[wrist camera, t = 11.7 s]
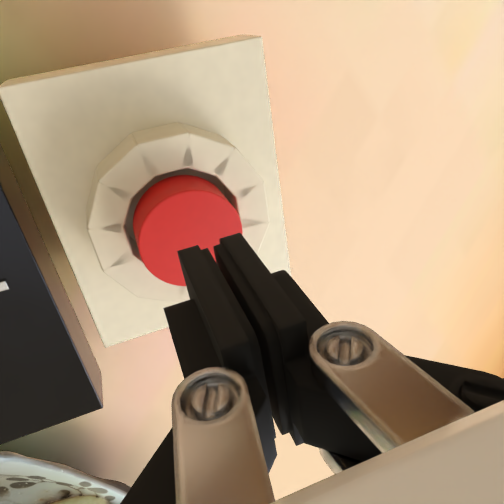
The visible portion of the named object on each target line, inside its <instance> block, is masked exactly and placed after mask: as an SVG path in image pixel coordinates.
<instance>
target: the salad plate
mask: <svg viewBox="0 0 504 504" xmlns="http://www.w3.org/2000/svg"><path fill="white" fill-rule="evenodd" d="M130 489H131V488H130V487H129V486H127V485H126V484H124V483H121V482H118V481H114V480H106V479H101V478H97V477H94V476H91V475H89V474H86V473H84V472H82V471H80V470H77V469H74V468H72V467H70V466H68V465H64V464H60V463H56V462H51V461H47V460H42V459H36V458H30V457H26V456H23V455H21V454H18V453H15V452H10V451H0V504H120V503H121V502H122V500H123V499H124V497H125V496H126V494H127V493H128V492H129V490H130Z"/></svg>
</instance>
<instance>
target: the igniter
mask: <svg viewBox="0 0 504 504" xmlns="http://www.w3.org/2000/svg"><path fill="white" fill-rule="evenodd" d="M0 98H1V100H2V103H3V105H4V108H5V110H6V112H7V115H8V117H9V120H10V122H11V124H12V127H13V129H14V132H15V134H16V136H17V139H18V141H19V144H20V146H21V148H22V151H23V153H24V155H25V158H26V160H27V163H28V165H29V167H30V170H31V172H32V175H33V177H34V179H35V182H36V184H37V187H38V189H39V191H40V194H41V196H42V199H43V201H44V203H45V206H46V208H47V211H48V213H49V215H50V218H51V220H52V222H53V225H54V227H55V230H56V232H57V234H58V237H59V239H60V242H61V244H62V246H63V249H64V251H65V254H66V256H67V258H68V261H69V263H70V266H71V268H72V270H73V273H74V275H75V277H76V280H77V282H78V285H79V287H80V289H81V292H82V294H83V297H84V299H85V301H86V304H87V306H88V309H89V311H90V313H91V316H92V318H93V321H94V323H95V325H96V328H97V330H98V332H99V335H100V337H101V340H102V342H103V344H104V347H105V348H106V347H109V346H112V345H115V344H118V343H121V342H124V341H128V340H131V339H134V338H137V337H140V336H143V335H146V334H149V333H152V332H155V331H158V330H161V329H164V328H167V327H169V325H168V322H167V319H166V315H165V312H164V309H163V308H165V307H168V306H171V305H175V304H178V303H181V302H184V301H187V300H190V298H189V294H188V291H187V287H186V286H177V285H172V284H169V283H166V282H164V281H162V280H160V279H158V278H157V277H155V276H154V275H153V274H152V273H151V272H149V270H148V269H147V268H146V267H145V265H144V263H143V262H142V259H141V257H140V254H139V250H138V246H137V242H136V239H135V235H134V231H133V216H134V211H135V208H136V205H137V204H138V202H139V200H140V198H141V197H142V195H143V194H144V193H145V192H146V191H147V190H148V189H149V188H150V187H151V186H153V185H154V184H155V183H157V182H159V181H161V180H163V179H165V178H168V177H171V176H176V175H193V176H198V177H201V178H203V179H205V180H207V181H209V182H211V183H212V184H214V185H215V186H216V187H217V188H218V189H219V190H220V191H221V192H222V194H223V195H224V196H225V197H226V199H227V200H228V201H229V202H230V203H231V205H232V206H233V207H234V208H235V210H236V211H237V213H238V215H239V217H240V220H241V224H242V231H243V234H242V235H243V237H244V238H245V239H246V241H247V242H248V243H249V245H250V246H251V247H252V249H253V250H254V251H255V253H256V254H257V255H258V257H259V258H260V259H261V261H262V262H263V263H264V265H265V266H266V267H267V269H268V270H269V271H270V273H274V272H277V271H280V270H285V271H286V272H287V273H288V274H289V275H290V276H291V272H290V263H289V255H288V247H287V239H286V230H285V222H284V214H283V206H282V198H281V189H280V181H279V173H278V165H277V157H276V148H275V140H274V132H273V124H272V116H271V107H270V99H269V91H268V83H267V75H266V66H265V58H264V50H263V42H262V37H261V36H253V35H237V36H232V37H227V38H222V39H217V40H211V41H206V42H201V43H196V44H190V45H185V46H180V47H175V48H170V49H164V50H159V51H154V52H149V53H143V54H138V55H133V56H128V57H123V58H117V59H112V60H107V61H102V62H96V63H91V64H86V65H81V66H76V67H70V68H65V69H60V70H55V71H49V72H44V73H39V74H34V75H29V76H23V77H18V78H13V79H8V80H6V81H5V82H3V83H2V84H1V85H0Z"/></svg>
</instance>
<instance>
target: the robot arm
mask: <svg viewBox="0 0 504 504" xmlns="http://www.w3.org/2000/svg"><path fill="white" fill-rule="evenodd" d="M219 242H220V244H218V245H215V246H213V248H214V254H215V259H216V262H215V260H214V258H213V256H212V254H211V253H210V251H209V249H208V248H205V249H202V250H201V249H200V247H199V246H198V245H196V246H192V247H189V248H186V249H182V250H179V251H177V252H178V257H179V261H180V264H181V268H182V272H183V276H184V279H185V283H186V287H187V291H188V294H189V298H190V300H187V301H184V302H181V303H178V304H175V305H171V306H168V307H165V308H163V309H164V312H165V315H166V319H167V322H168V325H169V329H170V332H171V335H172V339H173V342H174V345H175V349H176V352H177V356H178V359H179V362H180V366H181V369H182V372H183V376H184V380H183V381H182V382H181V383H180V384H179V385H178V387H177V389H176V391H175V393H174V394H173V399H172V426H173V427H172V429H171V430H170V432H169V433H168V435H167V436H166V438H165V439H164V440H163V442H162V443H161V445H160V446H159V448H158V449H157V451H156V452H155V454H154V455H153V457H152V458H151V459H150V461H149V462H148V464H147V465H146V467H145V468H144V470H143V471H142V473H141V474H140V475H139V477H138V478H137V480H136V481H135V483H134V484H133V486H132V487H131V489H130V490H129V492H128V493H127V494H126V496H125V497H124V499H123V500H122V502H121V503H120V504H504V378H500V377H498V376H496V375H493V374H489V373H486V372H483V371H478V370H473V369H468V368H463V367H458V366H454V365H449V364H444V363H439V362H434V361H429V360H425V359H420V358H415V357H410V356H405V355H403V354H402V353H401V352H399V351H398V350H397V349H396V348H394V347H393V346H392V345H391V344H389V343H388V342H387V341H386V340H384V339H383V338H382V337H381V336H379V335H378V334H377V333H376V332H374V331H373V330H371V329H370V328H368V327H366V326H365V325H362V324H359V323H355V322H347V321H341V322H333V323H330V324H329V323H328V322H327V320H326V319H325V318H324V317H323V315H322V314H321V313H320V312H319V311H318V309H317V308H316V307H315V306H314V304H313V303H312V302H311V301H310V299H309V298H308V297H307V296H306V295H305V293H304V292H303V291H302V290H301V288H300V287H299V286H298V285H297V284H296V282H295V281H294V280H293V279H292V277H291V276H290V275H289V274H288V273H287V272H286V271H285V270H280V271H277V272H274V273H270V271H269V270H268V269H267V267H266V266H265V265H264V263H263V262H262V261H261V259H260V258H259V257H258V255H257V254H256V253H255V251H254V250H253V249H252V247H251V246H250V245H249V243H248V242H247V241H246V239H245V238H244V237H243V235H242V234H241V233H236V234H233V235H230V236H226V237H223V238H220V239H219ZM272 416H273V417H272ZM273 418H274V420H275V423H276V425H277V427H278V429H279V431H280V432H281V434H282V435H284V434H286V433H290V435H291V437H292V438H293V440H294V442H295V444H296V446H297V445H299V444H302V443H306V444H309V445H312V446H315V447H318V448H319V450H320V454H321V456H322V457H323V459H324V461H325V462H326V464H327V465H328V466H329V467H330V469H331V470H332V471H333V473H334V474H335V475H333V476H330V477H328V478H326V479H324V480H321V481H319V482H317V483H315V484H312V485H310V486H308V487H306V488H303V489H301V490H299V491H297V492H294V493H292V494H290V495H288V496H285V497H283V498H281V499H279V500H276V501H275V499H274V495H273V491H272V486H271V482H270V478H269V472H270V469H271V467H272V465H273V463H274V460H275V458H276V456H277V452H276V446H275V441H274V438H276V434H275V429H274V423H273Z"/></svg>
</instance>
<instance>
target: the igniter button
mask: <svg viewBox="0 0 504 504" xmlns="http://www.w3.org/2000/svg"><path fill="white" fill-rule="evenodd" d="M133 231H134V235H135V239H136V242H137V246H138V250H139V254H140V257H141V259H142V262H143V263H144V265H145V267H146V268H147V269H148V270H149V272H151V273H152V274H153V275H154V276H155V277H157V278H158V279H160V280H162V281H164V282H166V283H169V284H172V285H177V286H186V283H185V279H184V276H183V272H182V268H181V264H180V261H179V257H178V252H177V251H179V250H182V249H186V248H189V247H192V246H196V245H198V246H199V247H200V249H201V250H202V249H205V248H208V249H209V251H210V253H211V254H212V256H213V258H214V260H215V262H216V259H215V254H214V248H213V246H215V245H218V244H220V242H219V239H220V238H223V237H226V236H230V235H233V234H236V233H241V234H243V231H242V224H241V220H240V217H239V215H238V213H237V211H236V210H235V208H234V207H233V206H232V205H231V203H230V202H229V201H228V200H227V199H226V197H225V196H224V195H223V194H222V192H221V191H220V190H219V189H218V188H217V187H216V186H215V185H214V184H212V183H211V182H209V181H207V180H205V179H203V178H201V177H198V176H193V175H176V176H171V177H168V178H165V179H163V180H161V181H159V182H157V183H155V184H154V185H153V186H151V187H150V188H149V189H148V190H147V191H146V192H145V193H144V194H143V195H142V197H141V198H140V200H139V202H138V204H137V205H136V208H135V211H134V216H133Z"/></svg>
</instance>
